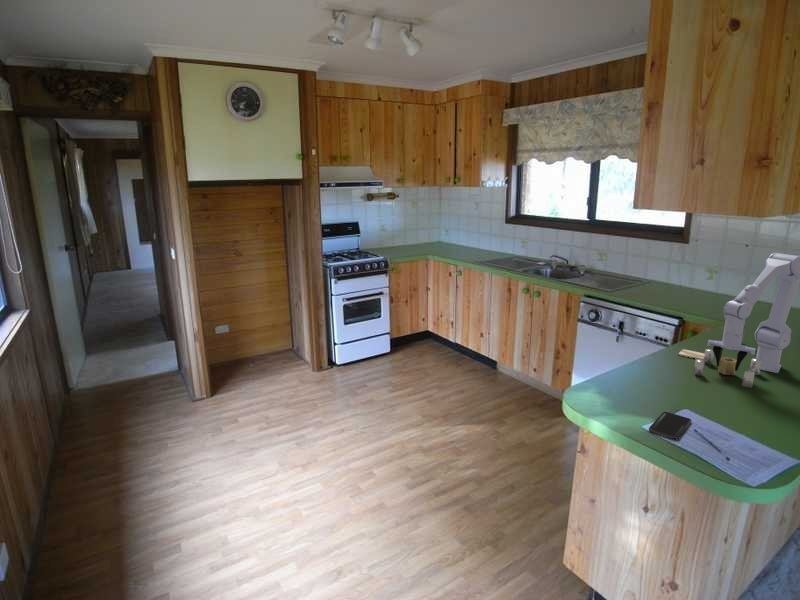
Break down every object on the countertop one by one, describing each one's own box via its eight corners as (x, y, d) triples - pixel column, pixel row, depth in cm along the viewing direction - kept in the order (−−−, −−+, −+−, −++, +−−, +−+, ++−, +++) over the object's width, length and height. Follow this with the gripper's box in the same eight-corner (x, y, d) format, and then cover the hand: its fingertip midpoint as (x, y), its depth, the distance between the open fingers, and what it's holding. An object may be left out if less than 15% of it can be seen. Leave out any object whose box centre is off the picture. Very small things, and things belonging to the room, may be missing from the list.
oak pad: (682, 350, 201) (682, 349, 200) (707, 356, 195) (707, 354, 194) (678, 355, 196) (678, 353, 195) (703, 360, 190) (703, 358, 189)
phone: (647, 428, 138) (664, 410, 148) (647, 432, 138) (663, 414, 148) (678, 438, 132) (692, 419, 143) (677, 442, 133) (692, 422, 143)
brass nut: (720, 368, 180) (722, 355, 179) (736, 371, 177) (738, 359, 176) (717, 372, 176) (719, 360, 175) (733, 376, 173) (735, 363, 172)
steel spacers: (704, 361, 189) (706, 348, 188) (759, 373, 177) (762, 359, 175) (692, 374, 176) (694, 360, 175) (751, 388, 164) (754, 373, 163)
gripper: (707, 331, 175) (702, 366, 178) (755, 340, 165) (749, 376, 168) (711, 327, 180) (706, 360, 183) (758, 335, 170) (752, 370, 173)
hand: (727, 367), depth 176 cm, fingers closed on brass nut, 5 cm apart
